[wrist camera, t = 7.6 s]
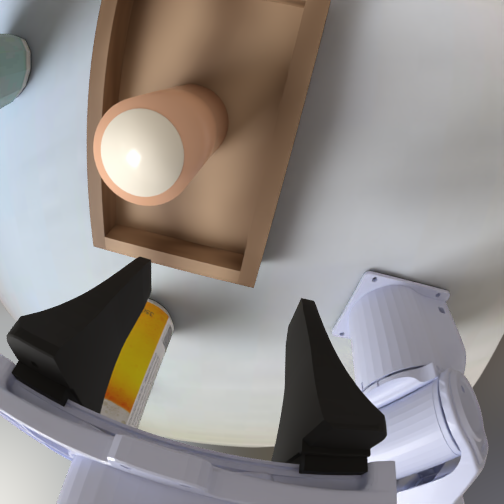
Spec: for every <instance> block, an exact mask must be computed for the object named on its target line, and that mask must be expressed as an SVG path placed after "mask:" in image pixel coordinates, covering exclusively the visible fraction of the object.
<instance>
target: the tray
mask: <svg viewBox="0 0 504 504" xmlns="http://www.w3.org/2000/svg"><path fill="white" fill-rule="evenodd" d="M330 1H331V0H102V1H101V6H100V11H99V16H98V21H97V27H96V33H95V39H94V46H93V53H92V61H91V70H90V81H89V94H88V112H87V175H88V194H89V207H90V218H91V228H92V237H93V245H94V246H95V247H98V248H102V249H105V250H109V251H112V252H116V253H119V254H123V255H127V256H130V257H134V258H138V257H139V256H140V257H144V258H147V259H151V262H152V263H156V264H160V265H164V266H168V267H171V268H175V269H179V270H183V271H187V272H191V273H195V274H199V275H203V276H207V277H211V278H215V279H219V280H223V281H227V282H231V283H235V284H240V285H244V286H248V287H252V288H254V285H255V281H256V278H257V274H258V271H259V267H260V264H261V260H262V256H263V253H264V249H265V246H266V242H267V239H268V235H269V231H270V228H271V224H272V221H273V217H274V213H275V210H276V206H277V202H278V199H279V195H280V192H281V188H282V184H283V181H284V177H285V173H286V170H287V166H288V162H289V159H290V155H291V151H292V147H293V144H294V140H295V136H296V133H297V129H298V125H299V121H300V118H301V114H302V110H303V106H304V102H305V99H306V95H307V91H308V87H309V83H310V80H311V76H312V72H313V68H314V64H315V60H316V57H317V53H318V49H319V45H320V41H321V37H322V33H323V29H324V25H325V21H326V17H327V13H328V9H329V5H330ZM186 84H195V85H200V86H203V87H206V88H208V89H210V90H211V91H213V92H214V93H215V94H217V95H218V96H219V98H220V99H221V100H222V102H223V103H224V105H225V107H226V110H227V113H228V120H229V121H228V131H227V134H226V137H225V139H224V141H223V142H222V144H221V145H220V146H219V147H218V149H217V150H216V151H215V152H214V153H213V154H212V156H211V157H210V158H209V159H208V160H207V162H206V163H205V164H204V165H203V167H202V168H201V169H200V170H199V171H198V173H197V174H196V175H195V176H194V178H193V179H192V180H191V181H190V183H189V184H188V185H187V186H186V188H185V189H184V190H183V191H182V192H181V193H180V194H179V195H178V196H177V197H175V198H174V199H172V200H171V201H169V202H166V203H164V204H160V205H155V206H143V205H137V204H134V203H131V202H128V201H126V200H124V199H123V198H121V197H119V196H118V195H117V194H115V193H114V192H113V191H112V190H111V189H110V188H109V187H108V186H107V185H106V183H105V182H104V180H103V179H102V177H101V176H100V174H99V172H98V169H97V167H96V163H95V159H94V153H93V142H94V136H95V132H96V129H97V126H98V124H99V122H100V120H101V119H102V117H103V116H104V114H105V113H106V112H107V111H108V110H109V109H110V108H111V107H112V106H114V105H115V104H117V103H118V102H120V101H123V100H125V99H128V98H132V97H135V96H139V95H143V94H146V93H150V92H154V91H158V90H163V89H167V88H171V87H176V86H181V85H186Z"/></svg>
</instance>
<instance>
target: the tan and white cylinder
mask: <svg viewBox="0 0 504 504" xmlns="http://www.w3.org/2000/svg"><path fill="white" fill-rule="evenodd" d="M228 121H229V120H228V113H227V110H226V107H225V105H224V103H223V102H222V100H221V99H220V98H219V96H218V95H217V94H215V93H214V92H213V91H211V90H210V89H208V88H206V87H203V86H200V85H195V84H186V85H181V86H176V87H171V88H167V89H163V90H158V91H154V92H150V93H146V94H143V95H139V96H135V97H132V98H128V99H125V100H123V101H120V102H118V103H117V104H115V105H114V106H112V107H111V108H110V109H109V110H108V111H107V112H106V113H105V114H104V116H103V117H102V119H101V120H100V122H99V124H98V126H97V129H96V132H95V136H94V142H93V153H94V159H95V163H96V167H97V169H98V172H99V174H100V176H101V177H102V179H103V180H104V182H105V183H106V185H107V186H108V187H109V188H110V189H111V190H112V191H113V192H114V193H115V194H117V195H118V196H119V197H121V198H123V199H124V200H126V201H128V202H131V203H134V204H137V205H143V206H155V205H160V204H164V203H166V202H169V201H171V200H172V199H174V198H175V197H177V196H178V195H179V194H180V193H181V192H182V191H183V190H184V189H185V188H186V186H187V185H188V184H189V183H190V181H191V180H192V179H193V178H194V176H195V175H196V174H197V173H198V171H199V170H200V169H201V168H202V167H203V165H204V164H205V163H206V162H207V160H208V159H209V158H210V157H211V156H212V154H213V153H214V152H215V151H216V150H217V149H218V147H219V146H220V145H221V144H222V142H223V141H224V139H225V137H226V134H227V131H228Z"/></svg>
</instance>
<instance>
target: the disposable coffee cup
mask: <svg viewBox="0 0 504 504" xmlns="http://www.w3.org/2000/svg"><path fill="white" fill-rule="evenodd" d="M30 69H31V62H30V50H29V47H28V45H27V43H26V41H25V40H24V39H21V38H20V37H17V36H15V35H12V34H0V109H1V108H2V107H4V106H6V105H8V104H9V103H11V102H13V100H14V99H15V98H16V97H18V96H19V94H20V93H21V91H22V90H23V89H24V87H25V86H26V83H27V80H28V76H29V73H30Z"/></svg>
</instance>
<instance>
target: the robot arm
mask: <svg viewBox="0 0 504 504" xmlns="http://www.w3.org/2000/svg"><path fill="white" fill-rule="evenodd" d="M374 277H377V278H376V279H373V278H374ZM150 293H151V259H147V258H144V257H140V256H139V257H138V258H136V259H135V260H134V261H132V262H131V263H129V264H128V265H127V266H125V267H124V268H123V269H121V270H120V271H118V272H117V273H116V274H114V275H113V276H111V277H110V278H108V279H107V280H105V281H104V282H102V283H101V284H99V285H98V286H96V287H94V288H93V289H91V290H89V291H88V292H86V293H84V294H82V295H80V296H78V297H76V298H74V299H72V300H70V301H68V302H65V303H63V304H61V305H58V306H56V307H53V308H50V309H47V310H44V311H41V312H37V313H33V314H29V315H25V316H21V317H20V318H19V319H18V321H17V322H16V323H15V325H14V326H13V327H12V329H11V330H10V332H9V333H8V335H7V342H8V344H9V346H10V347H11V349H12V351H13V352H14V354H15V356H16V357H17V359H18V360H19V361H18V363H17V365H15V364H14V363H13V362H12V361H11V360H9V359H8V358H6V357H5V356H3V355H1V354H0V415H1V416H2V417H3V418H5V419H6V420H7V421H9V422H10V423H12V424H13V425H14V426H16V427H17V428H19V429H20V430H21V431H23V432H25V433H26V434H27V435H29V436H30V437H32V438H33V439H35V440H36V441H38V442H40V443H41V444H43V445H44V446H46V447H48V448H49V449H51V450H53V451H54V452H56V453H58V454H59V455H61V456H63V457H65V458H66V459H68V460H70V461H72V462H71V465H70V468H69V470H68V473H67V475H66V478H65V481H64V483H63V486H62V489H61V492H60V495H59V498H58V500H57V504H465V503H464V499H463V494H464V492H465V491H466V490H467V489H468V487H469V486H470V485H471V484H472V483H473V481H474V480H475V479H476V478H477V476H478V475H479V474H480V472H481V470H482V469H483V467H484V465H485V461H486V456H487V452H488V442H487V438H486V435H485V431H484V425H483V419H482V414H481V410H480V407H479V403H478V401H477V399H476V395H475V393H474V391H473V389H472V387H471V385H470V383H469V381H468V380H467V378H466V377H465V376H464V371H465V366H466V352H465V347H464V344H463V342H462V339H461V337H460V334H459V332H458V329H457V327H456V324H455V322H454V320H453V317H452V315H451V313H450V310H449V308H448V306H447V304H446V301H447V300H448V298H449V297H450V293H449V291H447V290H443V289H440V288H436V287H432V286H428V285H424V284H420V283H416V282H412V281H408V280H405V279H401V278H397V277H393V276H389V275H385V274H381V273H377V272H373V271H367V272H365V273H364V275H363V277H362V278H361V280H360V282H359V284H358V286H357V288H356V289H355V291H354V293H353V295H352V297H351V298H350V300H349V302H348V304H347V306H346V307H345V309H344V311H343V313H342V314H341V316H340V318H339V319H338V321H337V323H336V325H335V326H334V328H333V330H332V334H333V335H334V336H337V337H343V338H349V339H351V346H352V355H353V364H354V373H355V382H354V381H353V379H352V378H351V377H350V375H349V374H348V372H347V371H346V369H345V368H344V366H343V364H342V363H341V361H340V359H339V357H338V356H337V354H336V352H335V350H334V348H333V346H332V344H331V342H330V339H329V337H328V335H327V333H326V330H325V328H324V326H323V323H322V321H321V318H320V315H319V313H318V310H317V307H316V304H315V302H314V301H311V300H307V299H303V298H301V300H300V302H299V305H298V307H297V309H296V311H295V313H294V316H293V318H292V320H291V322H290V324H289V327H288V333H287V340H286V359H285V391H284V399H283V406H282V412H281V418H280V424H279V429H278V434H277V439H276V444H275V448H274V453H273V457H272V461H266V460H259V459H253V458H246V457H241V456H236V455H230V454H225V453H221V452H216V451H212V450H207V449H203V448H199V447H195V446H191V445H187V444H184V443H180V442H177V441H173V440H170V439H167V438H164V437H160V436H157V435H154V434H151V433H148V432H145V431H142V430H140V429H137V428H134V427H131V426H129V425H126V424H123V423H121V422H118V421H116V420H113V419H111V418H108V417H106V416H104V415H101V414H100V413H101V409H102V405H103V401H104V397H105V394H106V391H107V388H108V384H109V381H110V378H111V375H112V373H113V370H114V367H115V364H116V362H117V359H118V357H119V354H120V352H121V349H122V347H123V345H124V343H125V341H126V339H127V338H128V336H129V334H130V332H131V331H132V329H133V327H134V325H135V324H136V322H137V320H138V318H139V316H140V315H141V313H142V311H143V309H144V307H145V305H146V303H147V300H148V298H149V295H150ZM437 293H438V294H437ZM342 332H343V333H342Z"/></svg>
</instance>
